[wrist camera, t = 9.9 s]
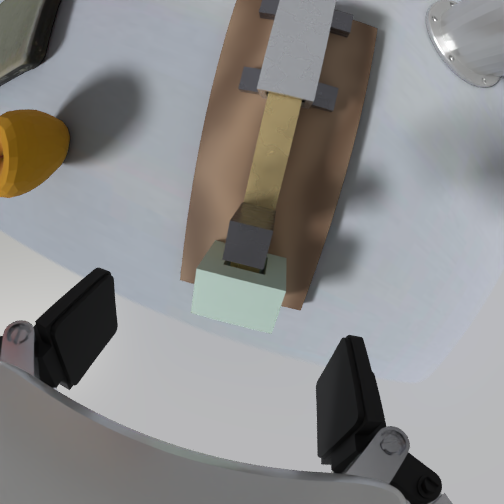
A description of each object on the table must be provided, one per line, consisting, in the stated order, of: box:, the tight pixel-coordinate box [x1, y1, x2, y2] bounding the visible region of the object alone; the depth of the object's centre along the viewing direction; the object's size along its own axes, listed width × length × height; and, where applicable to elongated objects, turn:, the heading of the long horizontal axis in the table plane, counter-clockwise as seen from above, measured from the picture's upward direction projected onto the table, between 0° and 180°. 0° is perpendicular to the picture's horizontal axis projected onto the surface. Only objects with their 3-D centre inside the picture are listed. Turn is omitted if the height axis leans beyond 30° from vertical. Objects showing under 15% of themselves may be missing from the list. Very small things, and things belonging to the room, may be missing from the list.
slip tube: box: [222, 92, 302, 273], centre depth 21 cm, size 3×21×8 cm, turn 167°
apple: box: [0, 110, 70, 198], centre depth 23 cm, size 11×11×13 cm
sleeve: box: [238, 0, 353, 112], centre depth 19 cm, size 9×12×5 cm
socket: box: [191, 240, 286, 334], centre depth 28 cm, size 8×5×7 cm, turn 78°
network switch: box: [0, 0, 61, 86], centre depth 19 cm, size 23×24×5 cm
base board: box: [180, 0, 377, 310], centre depth 26 cm, size 15×34×2 cm, turn 168°
